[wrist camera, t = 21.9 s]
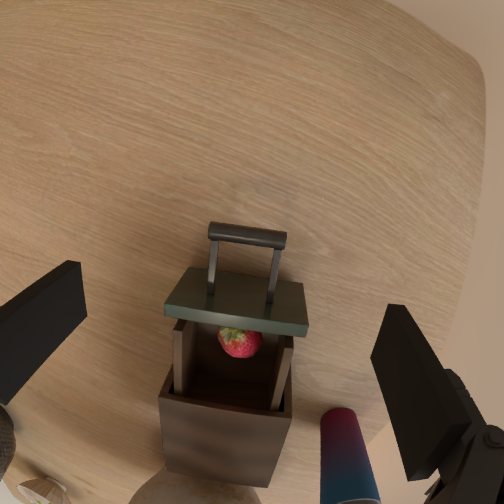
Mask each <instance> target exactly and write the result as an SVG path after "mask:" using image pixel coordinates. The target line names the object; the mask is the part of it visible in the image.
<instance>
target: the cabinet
mask: <svg viewBox="0 0 504 504" xmlns="http://www.w3.org/2000/svg"><path fill="white" fill-rule="evenodd" d="M158 401H159V412H160V422H161V431H162V440H163V448H164V455H165V463H166V470H167V471H168V472H172V473H176V474H181V475H185V476H190V477H195V478H200V479H205V480H211V481H217V482H223V483H230V484H237V485H244V486H253V487H262V488H268V485H269V483H270V480H271V478H272V475H273V472H274V469H275V467H276V464H277V461H278V458H279V456H280V453H281V450H282V447H283V444H284V441H285V438H286V435H287V432H288V429H289V426H290V423H291V420H292V387H291V362H290V367H289V371H288V374H287V378H286V382H285V386H284V390H283V394H282V398H281V401H280V405H279V409H278V412H277V411H268V410H260V409H252V408H245V407H238V406H232V405H225V404H219V403H213V402H208V401H202V400H197V399H192V398H187V397H182V396H178V395H174V370H173V364H172V366H171V368H170V371H169V373H168V375H167V377H166V380H165V382H164V384H163V386H162V389H161V391H160V394H159V396H158Z"/></svg>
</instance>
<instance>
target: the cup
mask: <svg viewBox="0 0 504 504" xmlns="http://www.w3.org/2000/svg"><path fill="white" fill-rule="evenodd" d="M320 434H321V478H320V504H381V501H380V497H379V493H378V489H377V486H376V482H375V478H374V475H373V472H372V468H371V464H370V461H369V457H368V454H367V450H366V447H365V443H364V440H363V437H362V433H361V430H360V427H359V423H358V420H357V417H356V414H355V412H354V411H352V410H350V409H347V408H338V409H334V410H331V411H329V412H327V413H326V414H325V415H323V417H322V418H321V421H320Z"/></svg>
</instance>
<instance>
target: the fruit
mask: <svg viewBox="0 0 504 504" xmlns="http://www.w3.org/2000/svg"><path fill="white" fill-rule="evenodd" d="M218 339H219V341H220V343H221V345H222V347H223V349H224V350H225V351H226V352H227V353H228V354H229V355H231V356H233V357H239V358H248V357H250V356H253V355H254V354H255V353H256V352H257V351H258V349H259V347H260V346H261V343H262V342H263V337H262V333H261V332H258V331H251V330H244V329H238V328H231V327H225V326H219V328H218Z"/></svg>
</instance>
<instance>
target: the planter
mask: <svg viewBox="0 0 504 504" xmlns="http://www.w3.org/2000/svg"><path fill="white" fill-rule="evenodd" d="M13 430H14V425H13V422H12V420H11V418H10V417H9V415H8V414H7V413H6V411H5V410H4V409H3V408H2V407H1V406H0V481H1V479H2V478H3V476H4V474H5V472H6V470H7V469H8V467H9V465H10V463H11V461H12V459H13V456H14V453H15V449H16V440H15V436H14V432H13Z"/></svg>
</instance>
